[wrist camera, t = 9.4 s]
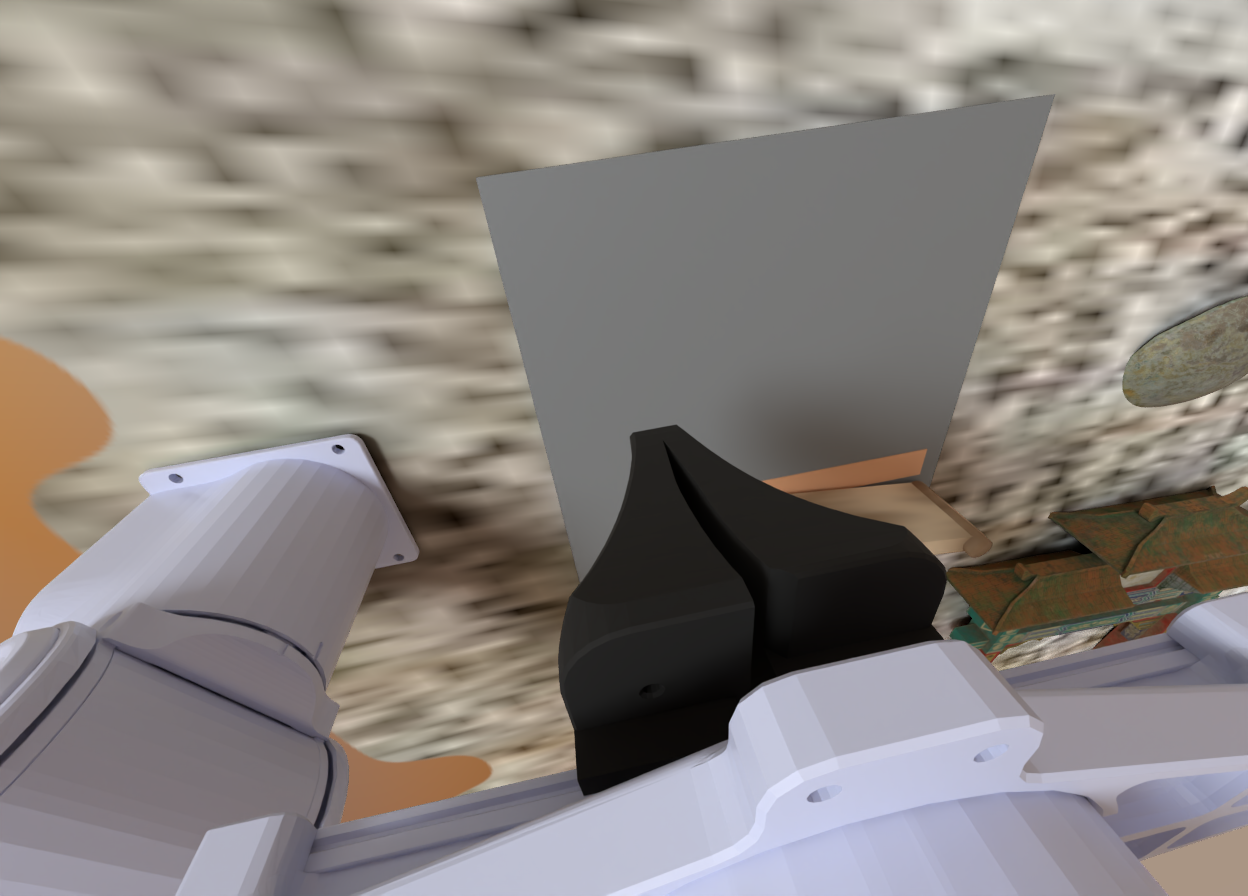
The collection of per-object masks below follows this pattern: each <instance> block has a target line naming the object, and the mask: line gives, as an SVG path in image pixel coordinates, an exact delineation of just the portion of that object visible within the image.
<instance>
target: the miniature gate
mask: <svg viewBox="0 0 1248 896" xmlns="http://www.w3.org/2000/svg"><path fill="white" fill-rule="evenodd" d="M1247 500H1248V488H1247V487H1241V488H1239V489H1237V490H1236V491H1234V492H1232V493H1230V494H1228V495H1225V496H1221V495H1219V494H1217V493H1216V489H1215V486H1211V487H1210V488H1209V489H1208V490H1203V491H1197V492H1191V493H1185V494H1179V495H1173V496H1167V497H1161V498H1155V499H1148V500H1142V501H1136V502H1130V503H1124V504H1118V505H1112V506H1106V507H1100V508H1094V509H1087V510H1081V511H1075V512H1069V513H1067V512H1051V513H1050V515H1049V517H1048V518H1050V519H1052V520H1053V521H1054V522H1056V523H1057V524H1058V525H1059V526H1061V527H1062V528H1063V529H1064V530H1066V531H1067V532H1068V533H1069V534H1071V535H1072V536H1073V537H1074V538H1076V539H1077V540H1078V541H1079V542H1081V543H1082V544H1083V545H1084V546H1086V547H1087V548H1088V549H1089V550H1091V551H1092V552H1093V553H1091V554H1085V555H1083V554H1080V553H1077V552H1075V551H1072V550H1066V551H1061V552H1055V553H1049V554H1043V555H1038V556H1032V557H1026V558H1020V559H1014V560H1009V561H1003V562H997V563H991V564H985V565H980V566H974V567H968V568H955V567H953V568H950V569H949V570H948V572H946V575H947V580H948V581H949V582H950V584H951V585H952V586H953V587H954V588H955V589H956V590H957V592H958V593H959V594H960V595H961V596H962V597H963V598H964V600H965V601H966V602H967V603H968V604H969V605H970V607H969V608H968V610H967V611H966V612H967V613H968V614H969V615H970V616H971V618H972V620H971V621H970V622H969V624H968V625H966V626H960V627H955V628H954V630H953V631H952V632H951V634H950V635H949V636H950V637H951V638H952V639H953V640H954V639H955V640H960V641H965V642H966V643H968V644H970V645H971V646H973V647H975V648H976V649H978V650H980V652H981V653H982V654H983V655H984V656H985V657H986V658H987V659H988V661H989V662H990V663H992V661H993V660H994V659H995V658H996V657H997V656H998V655H999V654H1002V653H1003V652H1005V651H1006V650H1007V649H1008V648H1012V647H1016V646H1019V645H1021V644H1023V643H1025V642H1027V641H1030V640H1039V641H1040V640H1042V639H1043V638H1045V637H1050V636H1055V635H1061V634H1066V633H1071V632H1076V631H1081V630H1087V629H1092V628H1097V627H1102V626H1107V625H1114V626H1117V625H1118V626H1117V627H1116V628H1115V629H1114V630H1112V631H1111V632H1110V633H1109V634H1108V635H1107V636H1106V637H1105V638H1104V639H1103V640H1102V641H1101V642H1100V643H1098V644H1097V645H1096V646H1095V647H1094V648H1093V649H1097V648H1101V647H1105V646H1110V645H1114V644H1118V643H1123V642H1127V641H1131V640H1136V639H1140V638H1144V637H1149V636H1153V635H1157V634H1162V633H1166V630H1167V627H1168V626H1169V624H1170V623H1171V621H1172V620H1173V619H1174V618H1175V617H1176V616H1177V615H1178V614H1179V613H1180V612H1182V611H1183V610H1185V609H1186V608H1188V607H1190V606H1191V605H1194V604H1197V603H1200V602H1203V601H1207V600H1212V599H1216V598H1218V597H1220V596H1218V594H1219V593H1221V592H1222V591H1223V590H1227V589H1233V588H1238V587H1243V586H1248V511H1247V510H1245V509H1244V508H1242V507H1240V506H1239V505H1241V504H1243V503H1244V502H1245V501H1247ZM1093 649H1092V650H1093Z"/></svg>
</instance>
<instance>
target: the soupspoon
mask: <svg viewBox="0 0 1248 896" xmlns="http://www.w3.org/2000/svg"><path fill="white" fill-rule="evenodd" d="M1246 374H1248V296H1245V297H1241V298H1238V299H1235V300H1232V301H1229V302H1227V303H1225V304H1223V305H1219V306H1216V307H1214V308H1212V309H1210V310H1208V311H1206V312H1204V313H1203V314H1201V315H1198V316H1196V317H1194V318H1192V319H1190V320H1188V321H1186V322H1184V323H1182V324H1180V325H1178V326H1175V327H1173V328H1171V329H1170V330H1167V331H1166V332H1163V333H1161V334H1159V335H1158V336H1155V337H1154V338H1153V339H1152V340H1150V341H1149V342H1148V343H1147V344H1145V345H1144V346H1143V347H1142V348H1141V349H1139V350H1137V352H1135V353H1134V354H1133V355H1132V356H1131V358H1130V359H1129V361H1128V363H1127V365H1126V368H1125V371H1124V375H1123V384H1122V385H1123V393H1124V395H1125V397H1126V398H1127V400H1128V401H1129V402H1130V403H1132V404H1134V405H1136V406H1139V407H1160V406H1167V405H1173V404H1178V403H1182V402H1186V401H1190V400H1193V399H1196V398H1199V397H1202V396H1205V395H1208V394H1210V393H1213V392H1215V391H1217V390H1220V389H1222V388H1224V387H1226V386H1228V385H1230V384H1232V383H1233V382H1235V381H1237V380H1239V379H1240V378H1242V377H1243V376H1245V375H1246Z"/></svg>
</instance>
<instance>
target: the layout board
mask: <svg viewBox="0 0 1248 896" xmlns="http://www.w3.org/2000/svg"><path fill="white" fill-rule="evenodd" d="M1054 96H1055V94H1054V95H1046V96H1038V97H1031V98H1024V99H1017V100H1010V101H1003V102H996V103H989V104H982V105H975V106H968V107H962V108H955V109H948V110H941V111H934V112H927V113H920V114H913V115H906V116H899V117H892V118H885V119H878V120H871V121H864V122H857V123H851V124H844V125H837V126H830V127H823V128H816V129H809V130H802V131H795V132H788V133H781V134H774V135H767V136H760V137H753V138H746V139H740V140H733V141H726V142H719V143H712V144H705V145H698V146H691V147H684V148H677V149H670V150H663V151H656V152H649V153H642V154H636V155H629V156H622V157H615V158H608V159H601V160H594V161H587V162H580V163H573V164H566V165H559V166H552V167H545V168H538V169H531V170H525V171H518V172H511V173H504V174H497V175H490V176H483V177H477V178H476V180H477V184H478V188H479V192H480V196H481V200H482V203H483V207H484V211H485V215H486V219H487V223H488V227H489V231H490V235H491V238H492V242H493V246H494V250H495V254H496V258H497V262H498V266H499V270H500V274H501V277H502V281H503V285H504V289H505V293H506V297H507V301H508V305H509V309H510V312H511V316H512V320H513V324H514V328H515V332H516V336H517V340H518V344H519V348H520V351H521V355H522V359H523V363H524V367H525V371H526V375H527V379H528V383H529V386H530V390H531V394H532V398H533V402H534V406H535V410H536V414H537V418H538V421H539V425H540V429H541V433H542V437H543V441H544V445H545V449H546V453H547V457H548V460H549V464H550V468H551V472H552V476H553V480H554V484H555V488H556V492H557V495H558V499H559V503H560V507H561V511H562V515H563V519H564V523H565V527H566V531H567V534H568V538H569V542H570V546H571V550H572V554H573V558H574V562H575V566H576V569H577V573H578V577H579V581H580V583H581V581H582V580H583V579H584V577H585V576H586V575H587V573H588V572H589V570H590V569H591V567H592V566H593V564H594V562H595V561H596V559H597V557H598V556H599V554H600V552H601V550H602V549H603V547H604V545H605V543H606V541H607V539H608V537H609V535H610V533H611V531H612V529H613V526H614V524H615V522H616V520H617V517H618V514H619V512H620V509H621V506H622V503H623V500H624V496H625V492H626V488H627V484H628V480H629V475H630V468H631V461H632V452H631V445H630V436H631V434H632V433H633V432H638V431H644V430H649V429H655V428H660V427H665V426H671V425H676V424H677V425H678V426H679V427H681V428H682V429H683V430H685V431H686V432H687V433H688V434H690V435H691V436H692V437H693V438H695V439H696V440H697V441H699V442H700V443H701V444H703V445H704V446H705V447H707V448H708V449H709V450H711V451H712V452H714V453H715V454H717V455H718V456H719V457H721V458H722V459H724V460H725V461H727V462H728V463H730V464H732V465H733V466H735V467H737V468H738V469H740V470H742V471H743V472H745V473H747V474H749V475H750V476H752V477H754V478H756V479H758V480H760V481H762V482H764V483H766V484H768V485H771V486H773V487H775V488H777V489H779V490H781V491H784V492H786V493H788V494H795V493H806V492H816V491H827V490H837V489H848V488H858V487H869V486H880V485H890V484H901V483H911V482H913V481H921V482H923V483H924V484H926V485H927V486H928V487H930V484H931V481H932V478H933V475H934V472H935V469H936V465H937V462H938V459H939V456H940V453H941V450H942V447H943V443H944V440H945V437H946V434H947V431H948V428H949V425H950V422H951V418H952V415H953V412H954V409H955V406H956V403H957V400H958V397H959V393H960V390H961V387H962V384H963V381H964V378H965V375H966V372H967V368H968V365H969V362H970V359H971V356H972V353H973V350H974V346H975V343H976V340H977V337H978V334H979V331H980V328H981V325H982V321H983V318H984V315H985V312H986V309H987V306H988V303H989V300H990V296H991V293H992V290H993V287H994V284H995V281H996V278H997V275H998V271H999V268H1000V265H1001V262H1002V259H1003V256H1004V253H1005V249H1006V246H1007V243H1008V240H1009V237H1010V234H1011V231H1012V228H1013V224H1014V221H1015V218H1016V215H1017V212H1018V209H1019V206H1020V203H1021V199H1022V196H1023V193H1024V190H1025V187H1026V184H1027V181H1028V177H1029V174H1030V171H1031V168H1032V165H1033V162H1034V159H1035V156H1036V152H1037V149H1038V146H1039V143H1040V140H1041V137H1042V134H1043V131H1044V127H1045V124H1046V121H1047V118H1048V115H1049V112H1050V109H1051V106H1052V102H1053V99H1054Z"/></svg>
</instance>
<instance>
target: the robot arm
mask: <svg viewBox="0 0 1248 896" xmlns="http://www.w3.org/2000/svg"><path fill="white" fill-rule="evenodd" d="M335 445H341V446H343V448H344V449H345V450H340V449H338V448H337V447H336V446H335ZM630 445H631V452H632V461H631V468H630V475H629V480H628V484H627V488H626V492H625V496H624V500H623V503H622V506H621V509H620V512H619V514H618V517H617V520H616V522H615V524H614V526H613V529H612V531H611V533H610V535H609V537H608V539H607V541H606V543H605V545H604V547H603V549H602V550H601V552H600V554H599V556H598V557H597V559H596V561H595V562H594V564H593V566H592V567H591V569H590V570H589V572H588V573H587V575H586V576H585V577H584V579H583V580H582V581H581V583H580V584H579V585H578V587H577V588H576V589H575V591H574V592H573V593H572V595H571V596H570V597H569V601H568V605H567V609H566V613H565V617H564V621H563V626H562V631H561V637H560V644H559V656H558V665H559V682H560V691H561V695H562V698H563V700H564V703H565V706H566V709H567V711H568V714H569V717H570V720H571V722H572V725H573V728H574V734H575V750H576V766H577V769H574V770H570V771H565V772H561V773H557V774H552V775H548V776H544V777H539V778H535V779H531V780H526V781H522V782H518V783H514V784H509V785H505V786H501V787H496V788H492V789H488V790H483V791H479V792H475V793H470V794H466V795H462V796H457V797H453V798H449V799H445V800H440V801H436V802H432V803H427V804H423V805H418V806H414V807H410V808H406V809H401V810H397V811H393V812H388V813H384V814H380V815H375V816H371V817H367V818H362V819H358V820H354V821H349V822H345V823H341V824H340V822H341V818H342V815H343V810H344V805H345V801H346V796H347V790H348V783H349V765H348V760H347V755H346V753H345V751H344V749H343V747H342V746H341V745H340V744H339V743H337V741H335V740H333V739H331V738H329V734H330V732H331V729H332V726H333V723H334V721H335V718H336V715H337V712H338V710H339V707H340V705H339V704H337V703H336V702H334V701H333V700H331V699H330V698H329V697H328V696H327V695H326V693H325V692H326V689H327V687H328V684H329V682H330V679H331V677H332V674H333V672H334V669H335V667H336V664H337V662H338V659H339V657H340V654H341V652H342V649H343V647H344V644H345V642H346V639H347V637H348V634H349V632H350V629H351V627H352V624H353V622H354V619H355V617H356V614H357V612H358V609H359V607H360V604H361V602H362V599H363V597H364V594H365V592H366V589H367V587H368V584H369V582H370V579H371V577H372V574H373V572H374V569H376V568H381V567H386V566H391V565H396V564H401V563H407V562H412V561H414V560H416V559H417V558H418V555H419V548H418V546H417V545H416V543H415V541H414V539H413V537H412V535H411V533H410V531H409V529H408V527H407V525H406V523H405V521H404V519H403V517H402V515H401V514H400V512H399V510H398V508H397V506H396V504H395V502H394V500H393V498H392V496H391V494H390V492H389V490H388V488H387V486H386V484H385V483H384V481H383V479H382V477H381V475H380V473H379V471H378V469H377V467H376V465H375V463H374V461H373V459H372V457H371V455H370V453H369V452H368V450H367V448H366V446H365V444H364V442H363V440H362V439H361V438H360V437H358V436H356V435H353V434H346V435H340V436H334V437H329V438H323V439H318V440H312V441H306V442H301V443H295V444H289V445H284V446H278V447H272V448H267V449H261V450H256V451H250V452H244V453H239V454H233V455H227V456H222V457H216V458H210V459H205V460H199V461H194V462H188V463H182V464H177V465H171V466H165V467H160V468H154V469H149V470H147V471H145V472H144V473H143V474H141V475H140V477H139V482H140V483H141V485H142V486H143V487H144V488H145V489H146V490H147V492H148V493H149V494H150V496H149V497H148V498H147V499H145V500H144V501H143V502H142V503H141V504H140V505H139V506H137V507H136V508H135V509H134V510H133V511H132V512H131V513H129V514H128V515H127V516H126V517H125V518H124V519H122V520H121V521H120V522H119V523H118V524H117V525H116V526H114V527H113V528H112V529H111V530H110V531H109V532H108V533H106V534H105V535H104V536H103V537H102V538H101V539H99V540H98V541H97V542H96V543H95V544H94V545H93V546H91V547H90V548H89V549H88V550H87V551H86V552H85V553H83V554H82V555H81V556H80V557H79V558H78V559H76V560H75V561H74V562H73V563H72V564H71V565H70V566H68V567H67V568H66V569H65V570H64V571H63V572H62V573H60V574H59V575H58V576H57V577H56V578H55V579H54V580H52V581H51V582H50V583H49V584H48V585H47V586H46V587H45V588H43V589H42V590H41V591H40V592H39V593H38V594H37V596H36V597H35V598H34V599H33V600H32V601H31V602H30V604H29V605H28V606H27V608H26V609H25V611H24V612H23V614H22V616H21V618H20V619H19V621H18V624H17V626H16V628H15V631H14V633H13V636H12V637H11V638H9V639H8V640H6V641H4V642H2V643H1V644H0V896H1169V895H1168V894H1167V893H1166V891H1165V890H1164V889H1163V888H1162V887H1161V886H1160V884H1159V883H1158V882H1157V881H1156V880H1155V879H1154V877H1153V876H1152V875H1151V874H1150V873H1149V872H1148V870H1147V869H1146V868H1145V867H1144V866H1143V864H1142V863H1141V862H1140V861H1142V860H1145V859H1148V858H1151V857H1154V856H1157V855H1160V854H1162V853H1166V852H1169V851H1172V850H1175V849H1178V848H1181V847H1184V846H1187V845H1190V844H1193V843H1196V842H1199V841H1202V840H1205V839H1208V838H1211V837H1214V836H1218V835H1221V834H1224V833H1227V832H1230V831H1233V830H1236V829H1239V828H1242V827H1245V826H1248V592H1243V593H1238V594H1234V595H1229V596H1225V597H1221V598H1216V599H1212V600H1207V601H1203V602H1200V603H1197V604H1194V605H1191V606H1190V607H1188V608H1186V609H1185V610H1183V611H1182V612H1180V613H1179V614H1178V615H1177V616H1176V617H1175V618H1174V619H1173V620H1172V621H1171V623H1170V624H1169V626H1168V627H1167V630H1166V633H1162V634H1157V635H1153V636H1149V637H1144V638H1140V639H1136V640H1131V641H1127V642H1123V643H1118V644H1114V645H1110V646H1105V647H1101V648H1097V649H1093V650H1088V651H1084V652H1080V653H1075V654H1071V655H1067V656H1062V657H1058V658H1054V659H1049V660H1045V661H1041V662H1036V663H1032V664H1028V665H1023V666H1019V667H1015V668H1010V669H1006V670H1002V671H997V670H996V668H995V667H994V666H993V665H992V664H991V663H990V662H989V661H988V659H987V658H986V657H985V656H984V655H983V654H982V653H981V652H980V650H978V649H976V648H975V647H973V646H971V645H970V644H968V643H966V642H965V641H960V640H955V639H954V640H944V639H943V637H942V636H941V635H940V634H939V633H938V632H937V630H936V629H935V628H934V627H933V626H932V621H933V619H934V616H935V614H936V612H937V609H938V607H939V604H940V602H941V599H942V597H943V594H944V590H945V586H946V581H947V575H946V570H945V567H944V566H943V564H942V563H941V562H940V561H939V560H938V559H937V557H936V556H935V555H934V554H933V553H932V552H931V551H930V550H929V549H928V548H927V547H926V546H925V545H924V544H923V543H922V542H921V541H920V540H919V539H918V538H917V537H916V536H915V535H914V534H913V533H912V532H910V531H909V530H908V529H907V528H906V527H905V526H901V525H897V524H892V523H887V522H883V521H878V520H873V519H869V518H864V517H859V516H855V515H852V514H848V513H845V512H841V511H838V510H834V509H831V508H827V507H824V506H821V505H818V504H815V503H812V502H809V501H807V500H804V499H802V498H799V497H796V496H794V495H791V494H788V493H786V492H784V491H781V490H779V489H777V488H775V487H773V486H771V485H768V484H766V483H764V482H762V481H760V480H758V479H756V478H754V477H752V476H750V475H749V474H747V473H745V472H743V471H742V470H740V469H738V468H737V467H735V466H733V465H732V464H730V463H728V462H727V461H725V460H724V459H722V458H721V457H719V456H718V455H717V454H715V453H714V452H712V451H711V450H709V449H708V448H707V447H705V446H704V445H703V444H701V443H700V442H699V441H697V440H696V439H695V438H693V437H692V436H691V435H690V434H688V433H687V432H686V431H685V430H683V429H682V428H681V427H679V426H678V425H677V424H676V425H671V426H665V427H660V428H655V429H649V430H644V431H638V432H633V433H632V434H631V436H630ZM176 474H178V475H180V476H181V477H182V478H181V477H178V476H177V475H176ZM397 554H401V555H403V556H399V555H397Z"/></svg>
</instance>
